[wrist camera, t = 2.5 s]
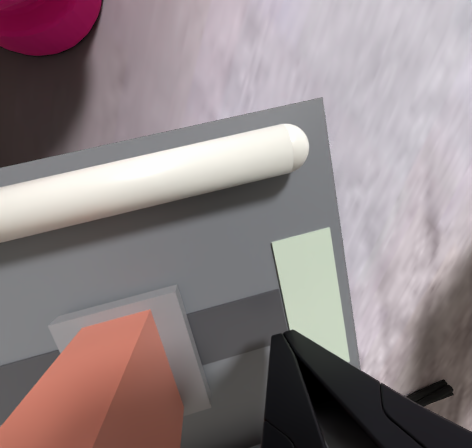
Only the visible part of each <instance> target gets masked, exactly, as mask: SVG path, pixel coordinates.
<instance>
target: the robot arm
mask: <svg viewBox="0 0 472 448" xmlns="http://www.w3.org/2000/svg"><path fill="white" fill-rule="evenodd" d="M325 441H326V443H327V445H328V447H329V448H472V432H471V431H469V430H467V429H465V428H463V427H461V426H459V425H457V424H455V423H453V422H451V421H449V420H447V419H445V418H443V417H441V416H440V415H438V414H436V413H434V412H432V411H430V410H428V409H426V408H424V407H423V406H421V405H419V404H417V403H415V402H413V401H412V400H410V399H408V398H406V397H405V396H403V395H401V394H399V393H398V392H396V391H394V390H393V389H391V388H389V387H388V386H386V385H384V384H383V383H381V384H380V382H379V381H378V380H376V379H374V378H373V377H371V376H369V375H368V374H366V373H365V372H363V371H361V370H360V369H358V368H356V367H355V366H353V365H351V364H350V363H348V362H347V361H345V360H343V359H342V358H340V357H338V356H337V355H335V354H333V353H332V352H330V351H328V350H327V349H325V348H324V347H322V346H320V345H319V344H317V343H315V342H314V341H312V340H310V339H309V338H307V337H305V336H304V335H302V334H301V333H299V332H297V331H296V330H293V329H292V330H289V331H285V332H283V334H282V333H279V334H275V335H272V336H271V343H270V354H269V365H268V376H267V387H266V398H265V409H264V422H263V430H262V439H261V447H260V448H327V446H326V443H325Z"/></svg>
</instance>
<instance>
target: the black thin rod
mask: <svg viewBox="0 0 472 448" xmlns="http://www.w3.org/2000/svg"><path fill="white" fill-rule="evenodd" d="M452 395H453V388H452V387H451V386H450V385H447V383H446V381H445V380H442V381H439V382H437V383H434V384H432V385H430V386H428V387H426V388H424V389H421V390H419V391H417V392H415V393H413V394H411V395H409V396H408V397H406V398H408V399H410V400H412V401H413V402H415V403H417V404H419V405H421V406H423V407H424V406H426V405H428V404H430V403H433V402H436V401H438V400H441V399H444V398H447V397H449V396H452Z"/></svg>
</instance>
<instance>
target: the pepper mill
mask: <svg viewBox="0 0 472 448" xmlns="http://www.w3.org/2000/svg"><path fill="white" fill-rule="evenodd" d="M101 1H102V0H0V46H1V47H3V48H5V49H7V50H11V51H14V52H18V53H21V54H25V55H34V56H41V55H50V54H57V53H60V52H62V51H64V50H67V49H69V48H71V47H73V46H75V45H76V44H77V43H78V42H79V41H81V40H82V39H83V38H84V37H85V36H86V35H87V34H88V33H89V31H90V29H91V28H92V26H93V24H94V23H95V21H96V19H97V17H98V14H99V11H100V8H101Z"/></svg>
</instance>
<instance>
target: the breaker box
mask: <svg viewBox="0 0 472 448" xmlns="http://www.w3.org/2000/svg"><path fill="white" fill-rule="evenodd" d="M173 285H177V286H178V289H179V292H180V295H181V299H182V302H183V305H184V308H185V312H186V315H187V318H188V321H189V325H190V328H191V331H192V334H193V338H194V341H195V344H196V347H197V351H198V354H199V357H200V360H201V364H202V367H203V370H204V373H205V377H206V380H207V383H208V386H209V390H210V393H211V408H209V409H206V410H202V411H199V412H196V413H193V414H189V415H186V416H183V424H182V434H181V445H180V448H260V447H261V439H262V430H263V422H264V409H265V398H266V387H267V376H268V365H269V354H270V343H271V336H272V335H275V334H279V333H282V334H283V332H285V331H289V330H292V329H293V330H296V331H297V332H299V333H301V334H302V335H304V336H305V337H307V338H309V339H310V340H312V341H314V342H315V343H317V344H319V345H320V346H322V347H324V348H325V349H327V350H328V351H330V352H332V353H333V354H335V355H337V356H338V357H340V358H342V359H343V360H345V361H347V362H348V363H350V364H351V365H353V366H355V367H356V368H358V369H360V361H359V354H358V347H357V340H356V333H355V326H354V319H353V312H352V304H351V297H350V290H349V283H348V276H347V269H346V262H345V255H344V247H343V240H342V233H341V226H340V219H339V212H338V205H337V197H336V190H335V183H334V176H333V169H332V162H331V155H330V148H329V140H328V133H327V126H326V119H325V112H324V105H323V98H322V97H321V98H317V99H312V100H308V101H303V102H299V103H294V104H289V105H285V106H280V107H276V108H271V109H267V110H262V111H258V112H253V113H248V114H244V115H239V116H235V117H230V118H226V119H221V120H216V121H212V122H207V123H203V124H198V125H194V126H189V127H185V128H180V129H175V130H171V131H166V132H162V133H157V134H153V135H148V136H144V137H139V138H134V139H130V140H125V141H121V142H116V143H112V144H107V145H103V146H98V147H93V148H89V149H84V150H80V151H75V152H71V153H66V154H62V155H57V156H52V157H48V158H43V159H39V160H34V161H30V162H25V163H20V164H16V165H11V166H7V167H2V168H0V427H1V425H2V424H3V423H4V422H5V421H6V419H7V418H8V417H9V416H10V415H11V413H12V412H13V411H14V410H15V408H16V407H17V406H18V405H19V404H20V402H21V401H22V400H23V399H24V398H25V396H26V395H27V394H28V393H29V391H30V390H31V389H32V388H33V387H34V385H35V384H36V383H37V382H38V381H39V379H40V378H41V377H42V376H43V374H44V373H45V372H46V371H47V370H48V368H49V367H50V366H51V365H52V364H53V362H54V361H55V360H56V359H57V357H58V356H59V355H60V352H59V350H58V347H57V345H56V343H55V341H54V339H53V336H52V334H51V332H50V330H49V327H48V325H49V324H50V323H52V322H53V321H54V320H55V319H56V318H57V317H58V316H61V315H64V314H68V313H72V312H76V311H79V310H83V309H87V308H91V307H94V306H98V305H102V304H105V303H109V302H113V301H117V300H120V299H124V298H128V297H132V296H135V295H139V294H143V293H147V292H150V291H154V290H158V289H162V288H165V287H169V286H173ZM360 370H361V369H360ZM325 443H326V441H325ZM326 446H327V448H329V447H328V445H327V443H326Z"/></svg>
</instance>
